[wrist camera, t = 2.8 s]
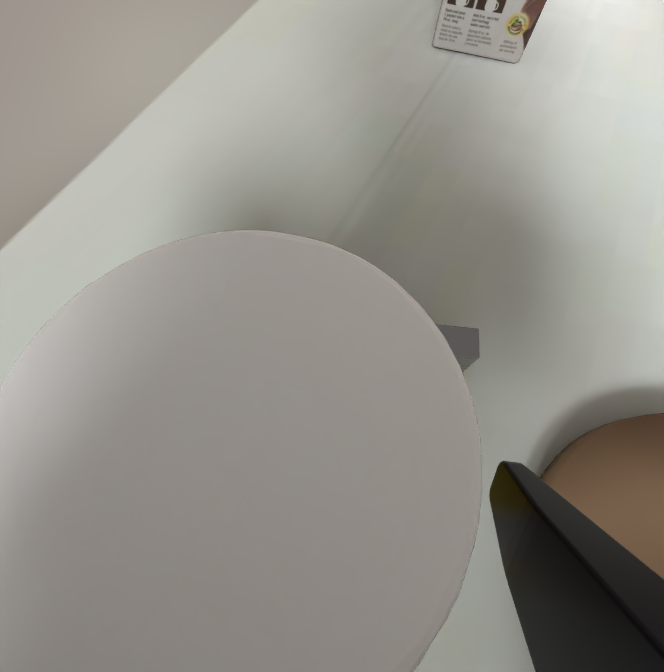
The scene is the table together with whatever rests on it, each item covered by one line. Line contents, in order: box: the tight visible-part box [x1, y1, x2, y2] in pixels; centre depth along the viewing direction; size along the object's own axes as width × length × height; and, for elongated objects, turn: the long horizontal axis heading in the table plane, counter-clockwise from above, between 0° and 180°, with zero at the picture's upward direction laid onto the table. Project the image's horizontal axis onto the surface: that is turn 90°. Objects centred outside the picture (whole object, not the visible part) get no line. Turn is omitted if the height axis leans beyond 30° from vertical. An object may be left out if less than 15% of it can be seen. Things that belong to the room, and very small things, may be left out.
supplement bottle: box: [0, 230, 482, 672], centre depth 9 cm, size 7×7×13 cm
